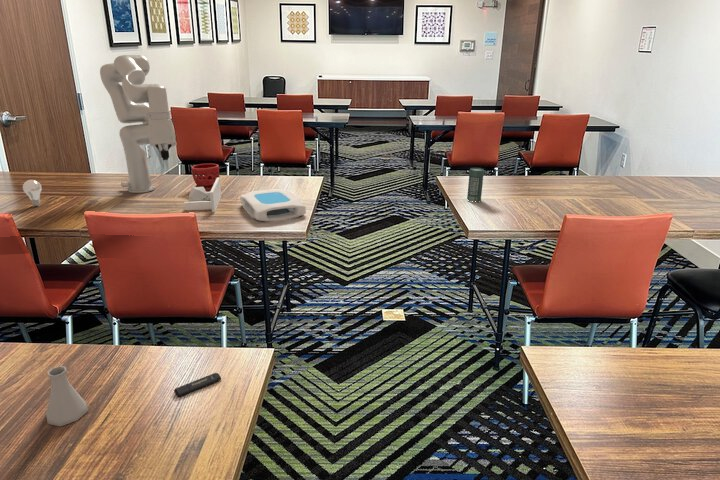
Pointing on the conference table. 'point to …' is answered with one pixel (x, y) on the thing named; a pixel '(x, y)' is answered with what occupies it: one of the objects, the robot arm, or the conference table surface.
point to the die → (198, 194)
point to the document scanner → (272, 204)
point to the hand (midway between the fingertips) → (165, 159)
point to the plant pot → (205, 175)
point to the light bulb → (33, 191)
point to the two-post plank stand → (212, 195)
